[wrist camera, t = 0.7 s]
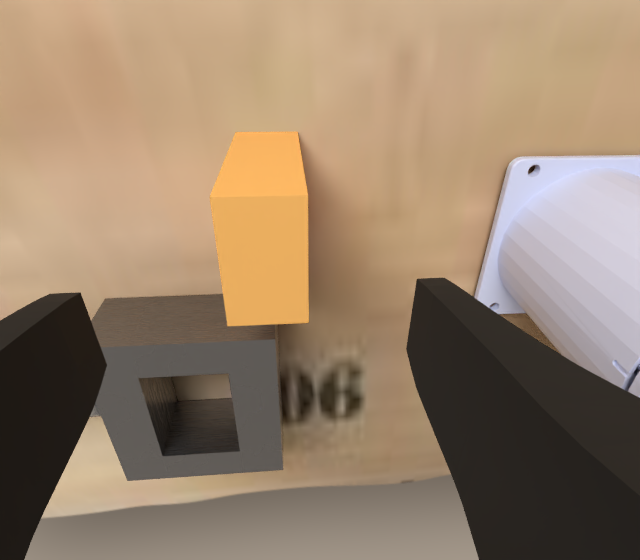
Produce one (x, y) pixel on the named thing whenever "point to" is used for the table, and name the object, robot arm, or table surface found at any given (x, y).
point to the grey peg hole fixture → (187, 416)
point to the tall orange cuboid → (262, 230)
